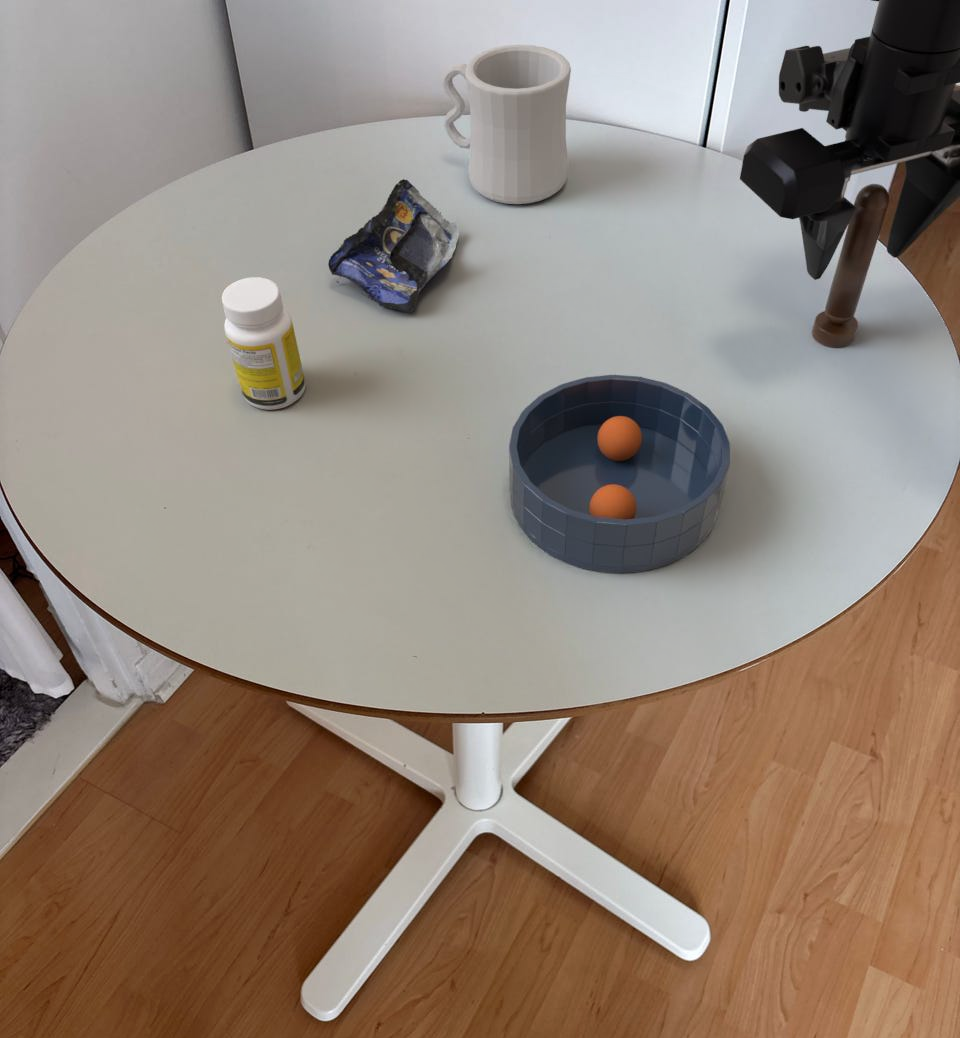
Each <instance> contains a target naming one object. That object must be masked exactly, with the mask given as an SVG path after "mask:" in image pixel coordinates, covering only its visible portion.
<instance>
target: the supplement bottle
mask: <svg viewBox="0 0 960 1038" xmlns="http://www.w3.org/2000/svg"><path fill="white" fill-rule="evenodd" d="M221 302H222V306H223V311H224V315H225V320H224V327H223V328H224V334H225V337H226V341H227V344H228V349H229V351H230V355H231V358H232V362H233V366H234V369H235V373H236V375H237V379H238V384H239V386H240V390H241V393H242V396H243V398H244V400H245V401H246V402H247V403H248V404H249V405H251V406H253V407H254V408H257V409H260V410H268V411H269V410H270V411H271V410H280V409H284V408H286V407H289V406H290V405H292V404H294V403H295V402H297V400H299V399H300V398H301V397H302V396H303V394H304V393H305V390H306V378H305V374H304V369H303V365H302V359H301V356H300V352H299V351H300V350H299V347H298V341H297V337H296V333H295V332H296V331H295V329H294V323H293V319H292V316H291V313H290V311H289V310H288V309H287V307H285V306H284V303H283V299H282V296H281V291H280V288H279V286H278V285H277V283H276V282H274V281H273V280H271V279H269V278H265V277H259V276H257V277H256V276H252V277H245V278H241V279H239V280H236V281H234V282H232V283H230V284H229V285H228V286H227V287H226V288H225V289H224V291H223V292H222V294H221Z"/></svg>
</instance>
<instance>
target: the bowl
mask: <svg viewBox="0 0 960 1038" xmlns="http://www.w3.org/2000/svg"><path fill="white" fill-rule="evenodd" d="M616 416H625V417H628V418H630V419H632V420H633V421H635V422H636V423H637V425H638V426H639V428H640V430H641V434H642V442H641V446H640V448H639V450H638V452H637V453H636V454H635V455H634V456H633V457H631V458H629V459H627V460H624V461H614V460H611V459H609V458H607V457H606V456H605V455H604V454H603V453H602V452H601V450H600V449H599V446H598V441H597V437H598V432H599V430H600V428H601V426H602V425H603V424H604V422H606V421H607V420H608V419H610V418H612V417H616ZM509 439H510V441H509V444H508V461H509V462H508V463H509V465H508V467H509V469H508V470H509V473H508V475H509V480H508V481H509V494H510V504H511V508H512V509H511V510H512V513H513V516H514V518H515V521H516V522H517V524H518V526H519V527H520V528H521V530H522V531H523V533H524V534H525V536H527V537H528V538H529V540H530V541H531V542H532V543H533V544H535V545H536V546H537V547H538V548H539V549H540V550H542V551H543V552H545V553H546V554H548V555H550V556H551V557H553V558H555V559H557V560H559V561H561V562H562V563H563V562H564V563H566V564H568V565H571V566H574V567H576V568H581V569H584V570H588V571H594V572H601V573H609V574H628V573H630V574H631V573H639V572H645V571H646V572H647V571H651V570H656V569H658V568H662V567H664V566H667V565H669V564H672V563H675V562H677V561H679V560H680V559H682V558H685V557H686V556H687V555H689V554H690V553H692V552H693V551H694V550H696V549H697V548H698V547H699V546H700V545H701V544H702V543H703V542H704V541H705V540H706V538H707V537H708V536H709V534H710V533H711V531H712V529H713V528H714V526H715V524H716V522H717V518H718V515H719V512H720V509H721V505H722V501H723V497H724V492H725V488H726V482H727V479H728V473H729V470H730V465H731V443H730V441H729V438H728V435H727V432H726V430H725V428H724V425H723V424H722V422H721V421H720V419H718V417H717V416H716V415H715V414H714V412H713V411H712V410H711V409H710V407H708V406H707V405H706V404H704V403H703V402H701V400H699V399H697V398H696V397H695V396H693V395H692V394H691V393H689V392H687V391H685V390H682V389H680V388H678V387H676V386H673V385H671V384H669V383H667V382H663V381H659V380H655V379H652V378H647V377H643V376H639V375H638V376H637V375H622V374H606V375H604V374H603V375H595V376H586V377H582V378H578V379H575V380H571V381H568V382H564V383H561V384H559V385H557V386H555V387H553V388H551V389H549V390H547V391H545V392H543V393H541V394H540V395H539V396H537V397H536V398H535V399H534V400H533V401H531V402H530V404H528V405H527V406H526V407H525V408H524V409H523V410H522V411H521V413H520V415H519V417H518V418H517V419H516V422H515V423H514V424H513V426H512V430H511V435H510V438H509ZM611 484H616V485H620V486H623V487H625V488H626V489H628V490H629V491H630V492H631V493H632V495H633V496H634V498H635V501H636V514H635V517H634V519H615V518H603V517H596V516H592V515H590V511H589V505H590V501H591V498H592V496H593V495H594V493H595V492H596V491H597V490H598V489H600V488H601V487H603V486H606V485H611Z"/></svg>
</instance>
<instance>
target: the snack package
mask: <svg viewBox="0 0 960 1038" xmlns="http://www.w3.org/2000/svg"><path fill="white" fill-rule="evenodd" d="M388 195H389V196H388V197H387V200H386V202H385V204H384V206H382V208H381V210H380V211H378V214H376V215H374V216H372V218H371V219H368V221H367V222H365V224H364V225H363V227H360V228H359V229H358V230H357V232H356V233H353V234H351V235H350V236H348V237H346V238H345V239H344V240H343V242H342V244H341V245H340V247H338V249H337V250H336V251H334V252H333V253H332V255H331V256H330V258H329V259H328V269H329V271H330V273H331V275H332V276H338V277H340V278H341V277H342V278H345V279H347V280H349V281H351V282H352V283H354V284H355V285H357V286H358V287H359V288H361V290H363V292H365V293H366V294H367V295H368V296H366V297H367V299H370V300H371V301H374V302H377V304H379V307H384V308H386V309H394V310H398V311H401V312H404V313H407V314H410V313H412V311H413V310H414V309H415V307H416V305H417V302H418V299H419V295H420V292H421V291H422V289H423V288H424V287H425V286H426V285H427V283H428V282H429V281H431V279H432V278H433V277H434V276H435V275H436V274H437V273H438V272H439V271H440V270H441V269H442V268H443V267H444V266H445V265H446V264H447V263H448V262H449V261H450V260H451V258H452V257H453V254H454V252H455V250H456V248H457V243H458V240H459V237H460V229H459V228H458V226H457V224H456V223H455V222H450V221H449V220H447V219H446V218H445V217H444V216H443V214H442V211H440V210H438V209H437V208H436V207H435V206H434V205H432V204H431V202H430V201H428V200H427V199H426V198H424V197H423V195H421V193H420V191H419V190H418V189H417V187H415V186H414V185H413V184H412V183H411V182H410V181H409V180H408V179H404V178H403V179H401V180H399V182H398V183H396V184H395V185H394V187H393V189H392V190H391V192H390V194H388ZM336 283H337V284H340V281H338V280H336ZM361 295H364V294H363V293H361Z"/></svg>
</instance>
